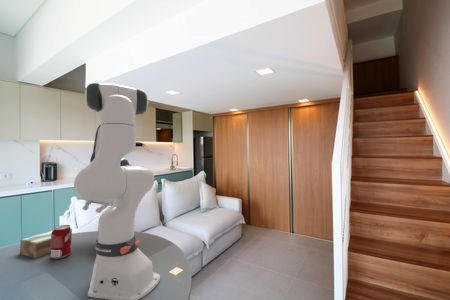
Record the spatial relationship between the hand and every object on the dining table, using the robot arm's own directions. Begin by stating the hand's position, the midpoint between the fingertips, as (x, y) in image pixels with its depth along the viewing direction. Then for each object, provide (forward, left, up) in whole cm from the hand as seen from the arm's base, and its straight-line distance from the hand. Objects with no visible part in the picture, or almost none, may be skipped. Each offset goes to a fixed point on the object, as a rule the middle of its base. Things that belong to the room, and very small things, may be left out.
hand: (90, 210), depth 99 cm
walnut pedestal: (+13, +12, -16) cm, 24 cm away
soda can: (+1, +12, -16) cm, 20 cm away
